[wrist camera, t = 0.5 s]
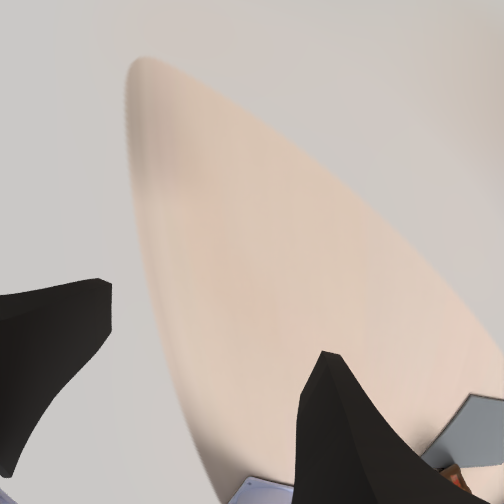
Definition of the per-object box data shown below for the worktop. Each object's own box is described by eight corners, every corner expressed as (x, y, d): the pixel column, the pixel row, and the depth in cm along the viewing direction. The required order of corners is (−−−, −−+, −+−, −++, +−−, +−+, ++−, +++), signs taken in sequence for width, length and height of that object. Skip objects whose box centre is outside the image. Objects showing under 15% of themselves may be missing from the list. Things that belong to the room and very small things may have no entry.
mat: (500, 463, 19) (501, 464, 18) (412, 465, 20) (412, 467, 20) (545, 405, 17) (546, 407, 16) (470, 394, 18) (471, 396, 18)
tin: (432, 463, 20) (448, 521, 12) (457, 448, 19) (479, 505, 11) (446, 501, 21) (455, 543, 13) (465, 491, 20) (478, 532, 12)
